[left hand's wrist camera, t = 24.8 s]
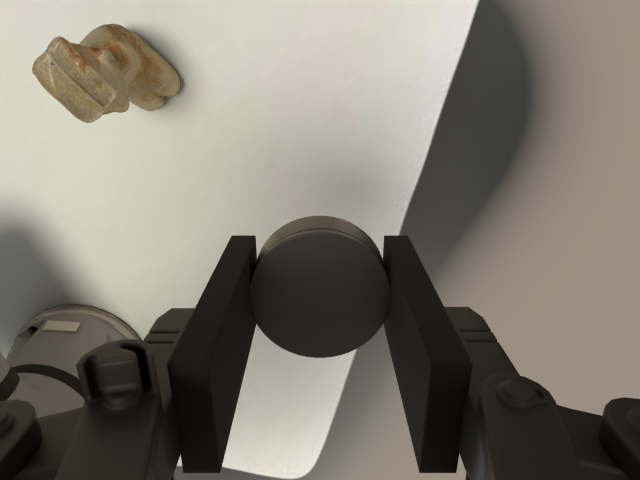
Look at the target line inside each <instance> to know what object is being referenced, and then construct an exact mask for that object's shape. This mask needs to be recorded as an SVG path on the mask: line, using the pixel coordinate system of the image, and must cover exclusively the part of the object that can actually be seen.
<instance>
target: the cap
mask: <svg viewBox="0 0 640 480" xmlns="http://www.w3.org/2000/svg"><path fill="white" fill-rule="evenodd" d="M389 295H390V283H389V279H388V275H387V272H386V269H385V266H384V263H383V260H382V257H381V254H380V252H379V250H378V248H377V246H376V244H375V243H374V242H373V241H372V239H371V238H370V237H369V236H368V235H367V234H366V233H365V232H364V231H363V230H361V229H360V228H359V227H357V226H355V225H353V224H352V223H350V222H347V221H345V220H342V219H339V218H335V217H329V216H311V217H305V218H301V219H297V220H295V221H292V222H290V223H288V224H286V225H284V226H283V227H281V228H280V229H278V230H277V231H276V232H275V233H274V234H273V235H272V236H270V238H269V239H268V240H267V241H266V243H265V244H264V246H263V247H262V249H261V251H260V254H259V256H258V259H257V262H256V265H255V268H254V271H253V274H252V277H251V282H250V300H251V312H252V315H253V317H254V319H255V321H256V323H257V325H258V326H259V328H260V329H261V331H262V332H263V333H264V334H265V335H266V336H267V337H268V338H269V339H270V340H271V341H272V342H274V343H275V344H276V345H278V346H280V347H281V348H283V349H285V350H287V351H289V352H292V353H295V354H297V355H302V356H306V357H314V358H325V357H333V356H338V355H342V354H345V353H348V352H350V351H353V350H355V349H357V348H358V347H360V346H362V345H363V344H365V343H366V342H367V341H368V340H370V339H371V338H372V337H373V336H374V335H375V334H376V333H377V331H378V330H379V329H380V327H381V326H382V324H383V322H384V321H385V319H386V316H387V314H388V310H389Z"/></svg>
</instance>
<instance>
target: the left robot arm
mask: <svg viewBox="0 0 640 480" xmlns="http://www.w3.org/2000/svg"><path fill="white" fill-rule="evenodd" d="M256 262H257V254H256V237H255V236H231V238H230V240H229V242H228V244H227V246H226V248H225V250H224V252H223V254H222V256H221V258H220V260H219V262H218V264H217V266H216V268H215V270H214V272H213V274H212V276H211V278H210V280H209V282H208V284H207V286H206V288H205V290H204V292H203V294H202V296H201V298H200V300H199V302H198V304H197V306H196V307H195V308H172V309H170V310H169V311H167V312H166V313H165V314H163V315H162V316H161V317H159V318H158V319H157V320H156V322H155V323H154V325H153V326H152V328H151V329H150V331H149V334H147V336H146V337H145V339H144V340H143V341H141V340H140V339H139V338H138V336H137V335H136V334H135V333H134V331H133V330H132V329H131V328H130V327H128V326H127V325H126V324H125V323H124V322H122V321H121V320H120V319H118V318H116V317H115V316H113V315H111V314H109V313H107V312H105V311H102V310H99V309H96V308H93V307H88V306H82V305H64V306H58V307H54V308H51V309H48V310H46V311H44V312H42V313H40V314H39V315H37V316H36V317H35V318H34V319H33V320H32V321H30V322H29V323H28V324H27V325H26V326H25V327H24V328H23V329H22V330H21V331H20V332H19V334H18V335H17V337H16V339H15V341H14V343H13V346H12V348H11V350H10V352H9V355H8V357H7V359H5V358H4V357H3V356H2V354H1V353H0V480H175V479H174V471H175V468H176V465H177V463H178V460H179V457H180V454H181V459H182V466H183V472H184V473H220V471H221V467H222V463H223V459H224V455H225V451H226V446H227V442H228V438H229V434H230V430H231V426H232V422H233V418H234V413H235V409H236V405H237V401H238V397H239V393H240V389H241V385H242V380H243V376H244V372H245V368H246V364H247V360H248V356H249V352H250V347H251V343H252V339H253V335H254V331H255V327H256V321H255V319H254V317H253V315H252V312H251V300H250V282H251V277H252V274H253V271H254V268H255V265H256ZM383 263H384V266H385V269H386V272H387V275H388V279H389V283H390V295H389V310H388V314H387V316H386V319H385V321H384V322H383V324H384V328H385V332H386V336H387V340H388V344H389V349H390V353H391V357H392V361H393V365H394V369H395V373H396V377H397V382H398V386H399V390H400V394H401V398H402V402H403V406H404V410H405V415H406V419H407V423H408V427H409V431H410V435H411V439H412V443H413V448H414V452H415V456H416V460H417V464H418V468H419V472H420V473H456V470H457V464H458V457H459V453H460V456H461V458H462V461H463V464H464V467H465V470H466V472H467V473H466V479H465V480H640V399H633V398H619V399H613V400H611V401H610V402H609V403H608V404H607V405H606V406H605V409H604V412H603V415H602V416H600V415H596V414H591V413H586V412H582V411H578V410H573V409H569V408H566V407H562V406H559V405H557V404H556V402H555V400H554V399H553V397H552V396H551V394H550V393H549V391H547V390H546V389H545V388H543V387H542V386H541V385H540V384H538V383H536V382H534V381H532V380H530V379H528V378H526V377H522V376H520V375H519V374H518V372H517V370H516V369H515V367H514V366H513V364H512V363H511V361H510V359H509V358H508V356H507V355H506V353H505V352H504V350H503V349H502V347H501V345H500V344H499V343H498V342H497V339H496V337H495V336H494V334H493V333H492V332H491V330H490V328H489V327H488V325H487V323H486V322H485V320H484V319H483V317H481V316H480V315H479V314H477V313H476V312H474V311H473V310H472V309H470V308H469V307H444V306H443V304H442V302H441V300H440V298H439V296H438V294H437V292H436V290H435V288H434V286H433V284H432V282H431V280H430V279H429V277H428V275H427V273H426V271H425V269H424V267H423V265H422V263H421V261H420V259H419V257H418V255H417V253H416V251H415V249H414V247H413V245H412V243H411V241H410V239H409V237H408V236H384V249H383Z"/></svg>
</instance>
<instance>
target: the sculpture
mask: <svg viewBox="0 0 640 480" xmlns="http://www.w3.org/2000/svg"><path fill="white" fill-rule="evenodd" d="M32 71H33V74H34V75H35V76H36V77H37V79H38V81H39V82H40V84H41V85H42V86H43V87H44V88H45V89H46V90H47V91H48V92H49V93H50V94H51V95H52V96H53V97H54V98H55V99H57V100H58V101H59V102H60V103H61V104H62V105H63V106H64V107H65V108H66V109H67V110H69V111H70V112H71V113H72V114H73V115H74V116H75V117H76V118H78V119H80V120H81V121H83V122H86V123H91V122H93V121H95V120H97V119H99V118H100V117H101V115H103V114H109V113H112V112H119V113H120V112H125V111H127V110H128V108H129V101H130V102H132V103H133V104H135V105H137V106H138V107H140V108H142V109H144V110H147V111H154V110H156V109H158V108H159V107H161V106H162V105H163V104H164V103H165V100H164V97H163V96H168V97H172V96H174V95H175V94H176V93H177V92H178V90H179V88H180V80H179V77H178V75H177V73H176V72H175V71H174V69H173V68H172V67H171V66H170V65H169V64H168V63H167V62H166V61H165V60H164V59H163V58H162V57H161V56H160V55H159V54H158V53H157V52H155V51H154V50H153V49H152V48H151V47H150V46H148V45H147V44H146V43H145V42H144V41H143V40H142V39H141V38H140V37H139V36H138V35H137V34H136V33H134V32H131V31H130V30H128V29H126V28H124V27H123V26H121V25H118V24H109V25H102V26H100V27H98V28H96V29H94V30H93V31H91V32H90V33H89V34H88V35H87V36H86V37H85V38H84V39H83V40H82V41H81V43H80V44H74V43H70V42H69V41H67V40H66V39H64V38H62V37H59V36H58V37H56V38H54V39H53V40H52V42H51V43H50V44H49V45H48V48H47V50H46V51H45V52H44V53H43V54H42V55H41V56H39V57H38V58H37V59H36V60H35V62H34V64H33V68H32Z"/></svg>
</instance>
